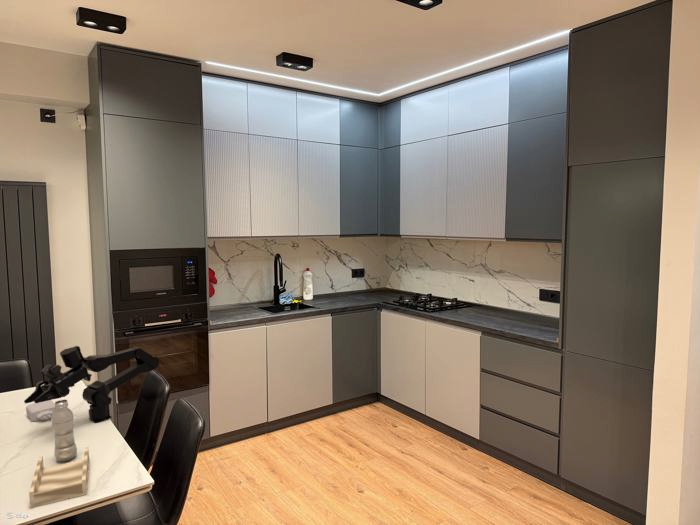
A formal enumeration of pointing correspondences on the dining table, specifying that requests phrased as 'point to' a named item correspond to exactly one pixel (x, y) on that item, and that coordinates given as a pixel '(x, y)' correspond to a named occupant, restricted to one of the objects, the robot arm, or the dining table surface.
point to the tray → (59, 481)
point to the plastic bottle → (63, 432)
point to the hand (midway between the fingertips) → (29, 402)
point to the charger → (40, 410)
